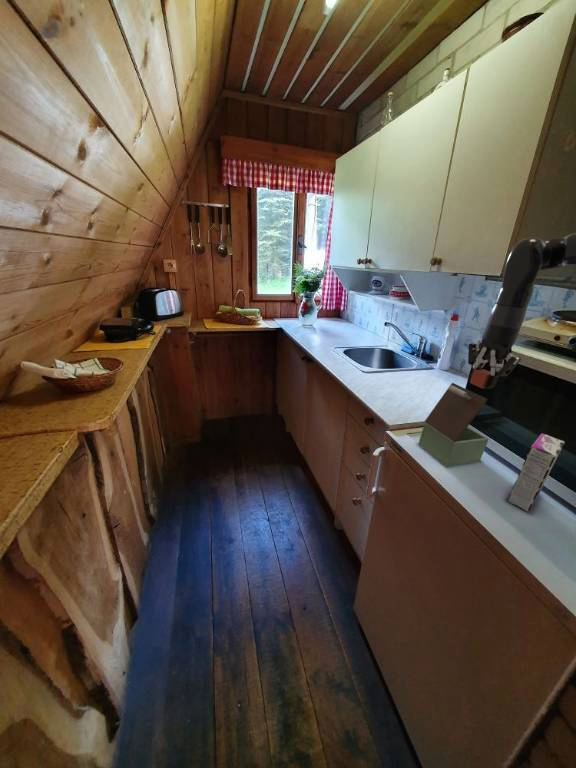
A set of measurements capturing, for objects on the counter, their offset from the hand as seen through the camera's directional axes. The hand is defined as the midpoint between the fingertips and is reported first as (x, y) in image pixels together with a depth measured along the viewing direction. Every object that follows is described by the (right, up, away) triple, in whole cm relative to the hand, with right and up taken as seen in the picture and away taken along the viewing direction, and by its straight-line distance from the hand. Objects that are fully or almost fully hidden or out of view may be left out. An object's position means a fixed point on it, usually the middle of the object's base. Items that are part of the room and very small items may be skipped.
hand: (480, 384), depth 85 cm
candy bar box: (+6, -29, -7) cm, 31 cm away
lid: (-5, -8, +4) cm, 10 cm away
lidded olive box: (-4, -21, +10) cm, 24 cm away
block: (0, 0, 0) cm, 0 cm away
